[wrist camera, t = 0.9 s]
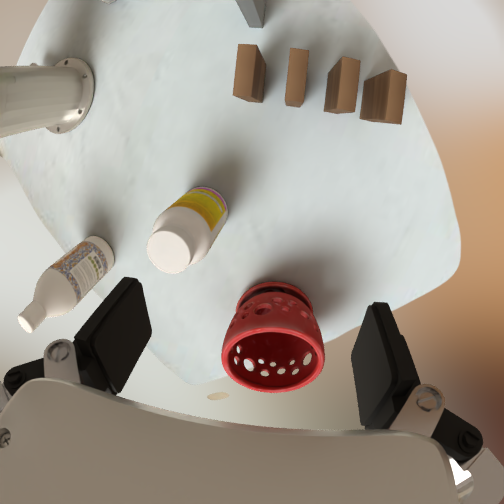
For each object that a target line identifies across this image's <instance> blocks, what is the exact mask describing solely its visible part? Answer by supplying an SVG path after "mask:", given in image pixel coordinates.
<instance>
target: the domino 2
mask: <svg viewBox="0 0 504 504" xmlns="http://www.w3.org/2000/svg"><path fill="white" fill-rule="evenodd" d="M308 57H309V50H303V49H296V48H290V56H289V66H288V75H287V84H286V93H285V103H286V106H293V107H300V106H301V105H302V104H303V102H304V93H305V85H306V76H307V66H308Z"/></svg>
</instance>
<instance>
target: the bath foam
mask: <svg viewBox="0 0 504 504" xmlns="http://www.w3.org/2000/svg"><path fill="white" fill-rule="evenodd" d="M113 264H114V255H113V252H112V250H111V248H110V246H109V245H108V243H107V242H106V241H104V240H103V239H102V238H100V237H97V236H90V237H88V238H86V239H85V240H84V241H82V242H81V243H79V244H78V245H77V246H75V247H74V248H73V249H72V250H70V251H69V252H68V253H66V254H65V255H64V256H63V257H61V258H60V259H59V260H58V261H56V262H55V263H54V264H53V265H51V266H50V267H49V268H48V269H47V270H46V271H45V272H44V273H43V274H42V275H41V277H40V278H39V280H38V282H37V285H36V288H35V292H34V298H33V301H32V302H31V303H30V304H29V305H28V306H27V307H26V308H25V309H24V311H23V312H22V313H20V314H19V316H18V321H19V323H20V325H21V326H22V327H23V328H24V329H25V330H26V331H27V332H28V333H32V332H33V331H34V330H35V329H36V328H37V327H38V326H39V325H40V324H41V323H42V321H43V320H44V319H45V318H46V317H56V316H61V315H64V314H66V313H68V312H70V311H71V310H72V309H73V308H74V307H75V306H76V305H77V304H78V303H79V302H80V301H81V300H82V299H83V298H84V296H86V294H87V293H88V292H89V291H90V290H91V289H92V288H93V287H94V286H95V285H96V284H97V283H98V282H99V281H100V280H101V279H102V278H103V277H104V276H105V275H106V274H107V273H108V272H109V271H110V270H111V268H112V267H113Z"/></svg>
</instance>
